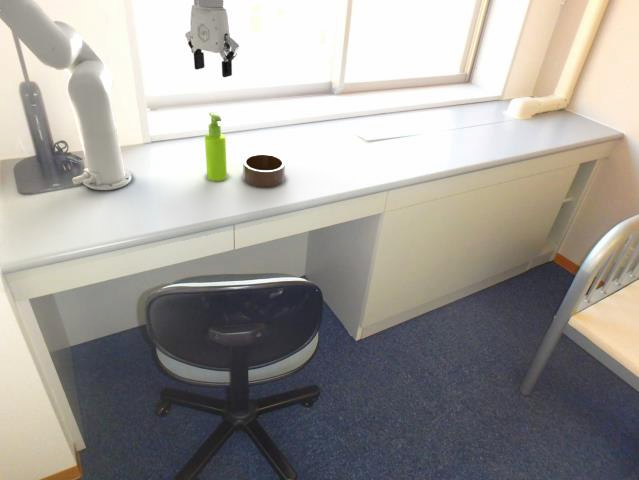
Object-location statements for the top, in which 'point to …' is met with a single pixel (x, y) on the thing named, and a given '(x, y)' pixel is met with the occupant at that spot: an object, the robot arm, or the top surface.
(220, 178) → the soap dispenser
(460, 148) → the top surface
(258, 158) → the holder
